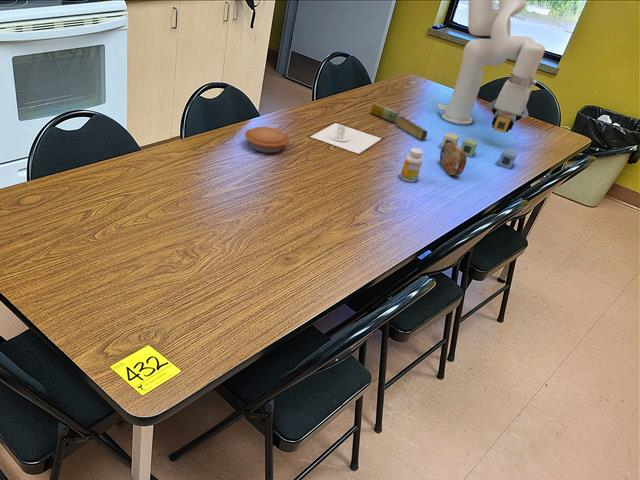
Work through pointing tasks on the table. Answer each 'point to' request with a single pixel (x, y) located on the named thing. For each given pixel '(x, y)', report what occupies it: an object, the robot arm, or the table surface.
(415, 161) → the supplement bottle
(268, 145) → the pie
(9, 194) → the table surface
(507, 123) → the mustard block
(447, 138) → the cream block
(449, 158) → the tin
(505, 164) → the blue-grey block
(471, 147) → the sage block
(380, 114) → the medication box
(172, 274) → the table surface
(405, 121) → the decorative block
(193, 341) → the table surface
